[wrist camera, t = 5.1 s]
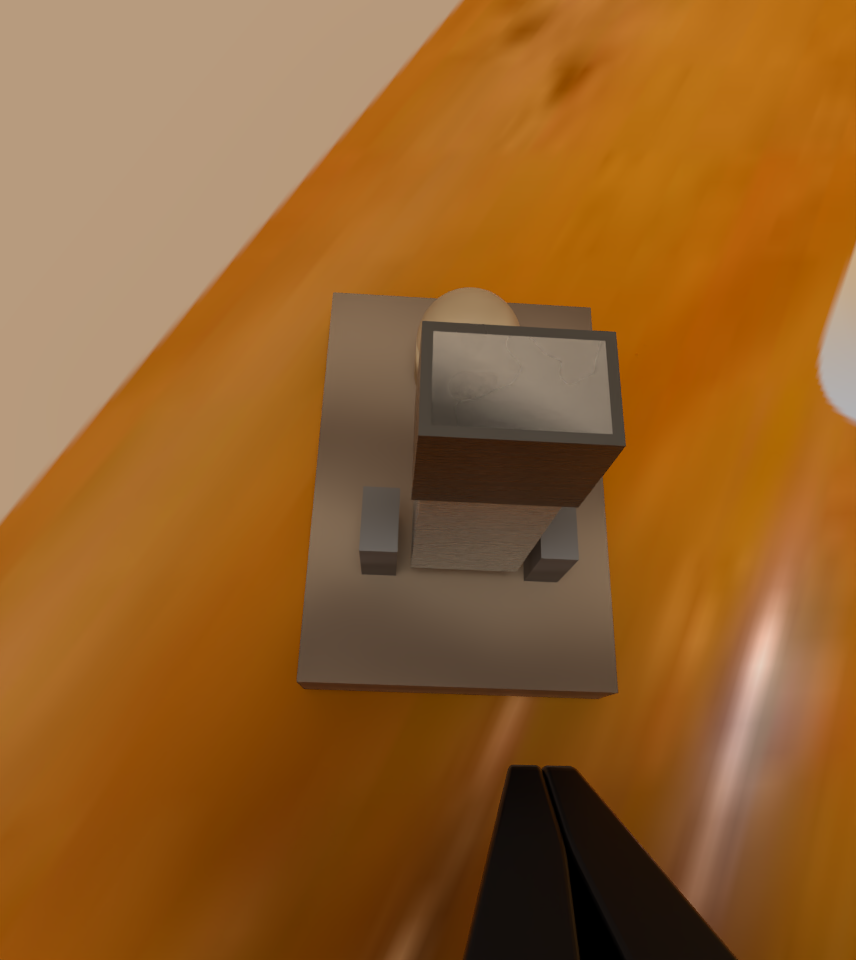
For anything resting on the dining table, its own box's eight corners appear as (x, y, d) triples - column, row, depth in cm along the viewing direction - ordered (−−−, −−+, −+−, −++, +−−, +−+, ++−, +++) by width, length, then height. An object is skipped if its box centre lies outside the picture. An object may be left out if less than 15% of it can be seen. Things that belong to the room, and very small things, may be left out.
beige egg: (510, 420, 23) (532, 361, 19) (412, 415, 23) (417, 355, 19) (509, 337, 24) (529, 268, 21) (415, 331, 24) (421, 261, 21)
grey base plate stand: (597, 698, 22) (649, 683, 17) (304, 688, 21) (284, 670, 17) (575, 339, 27) (612, 260, 22) (336, 325, 26) (327, 242, 22)
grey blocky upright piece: (523, 579, 20) (626, 445, 11) (403, 574, 20) (418, 435, 11) (521, 505, 21) (616, 331, 12) (406, 500, 20) (422, 320, 12)
